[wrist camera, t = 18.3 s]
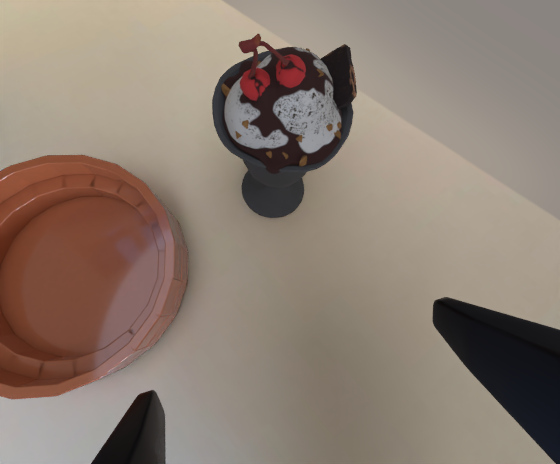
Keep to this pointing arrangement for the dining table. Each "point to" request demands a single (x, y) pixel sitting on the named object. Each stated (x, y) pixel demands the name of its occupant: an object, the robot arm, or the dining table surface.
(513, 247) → the dining table surface
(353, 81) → the sundae
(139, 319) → the bowl
